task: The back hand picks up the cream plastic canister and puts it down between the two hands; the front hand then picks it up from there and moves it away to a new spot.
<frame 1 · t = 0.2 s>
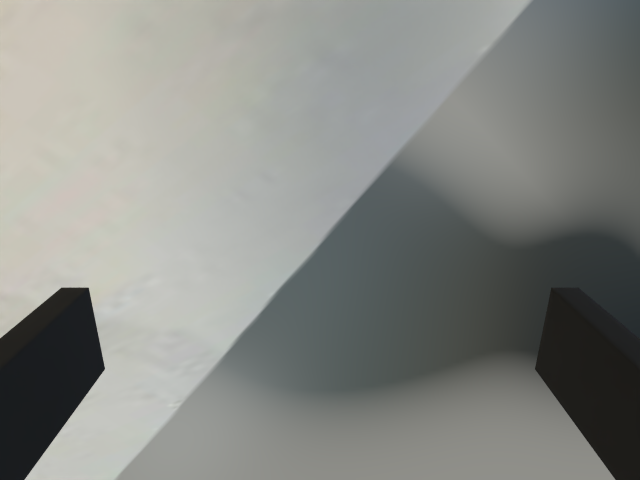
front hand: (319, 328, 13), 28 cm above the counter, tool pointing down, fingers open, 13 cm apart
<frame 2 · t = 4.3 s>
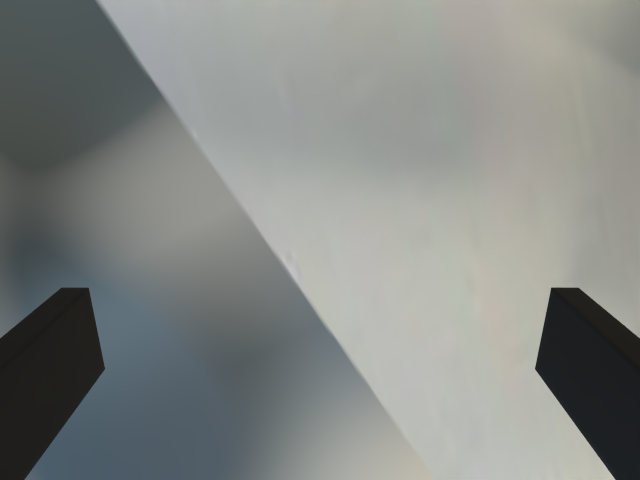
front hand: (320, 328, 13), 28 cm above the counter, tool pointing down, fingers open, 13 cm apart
when the back hand's fingers open (3 cm above the counter, at t = 11.4 s): canister drops 1 cm, on the counter.
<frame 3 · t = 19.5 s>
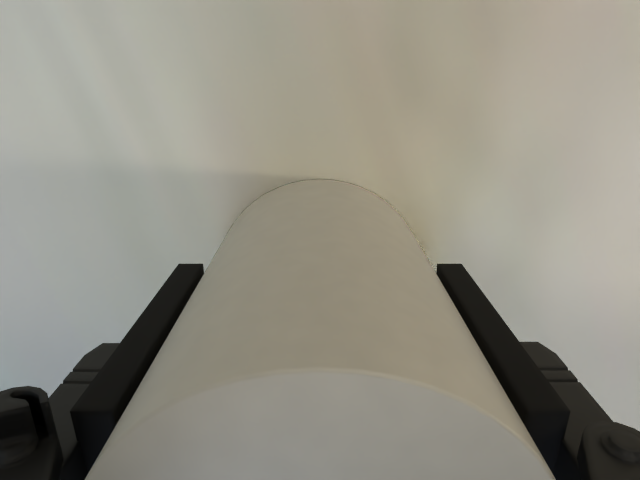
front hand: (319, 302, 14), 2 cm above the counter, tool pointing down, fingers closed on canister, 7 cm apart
canister: (320, 278, 16), on the counter, touching front hand
when the front hand's fingers open (3 cm above the counter, at t = 27.6 s): canister drops 1 cm, on the counter.
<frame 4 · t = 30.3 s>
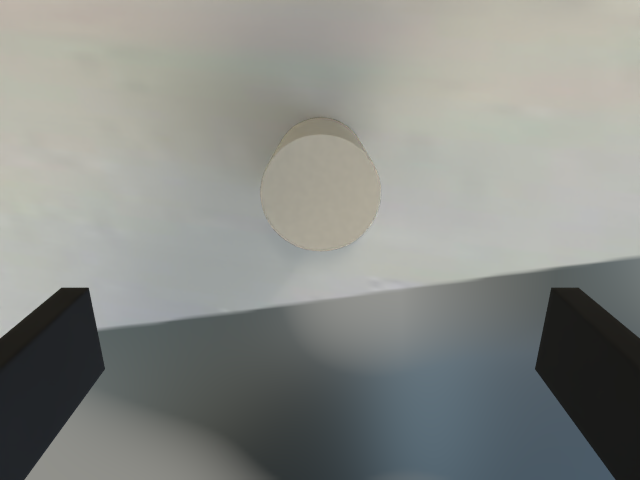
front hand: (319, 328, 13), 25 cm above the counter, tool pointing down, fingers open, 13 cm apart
canister: (320, 163, 37), on the counter
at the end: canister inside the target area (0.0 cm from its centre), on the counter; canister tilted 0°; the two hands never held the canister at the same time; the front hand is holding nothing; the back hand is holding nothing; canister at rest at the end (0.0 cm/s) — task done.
